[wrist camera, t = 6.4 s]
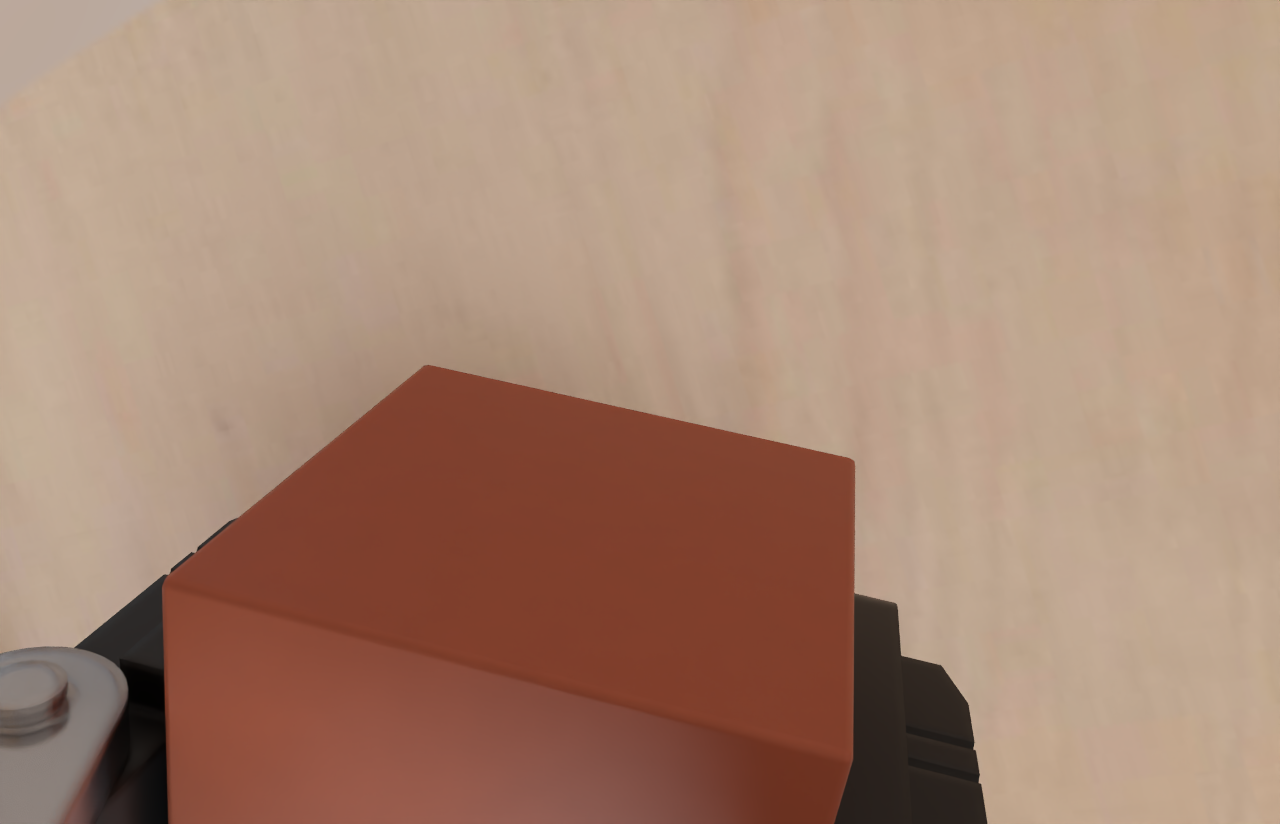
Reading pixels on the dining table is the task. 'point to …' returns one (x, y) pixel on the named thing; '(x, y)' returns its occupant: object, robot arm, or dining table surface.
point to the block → (520, 625)
